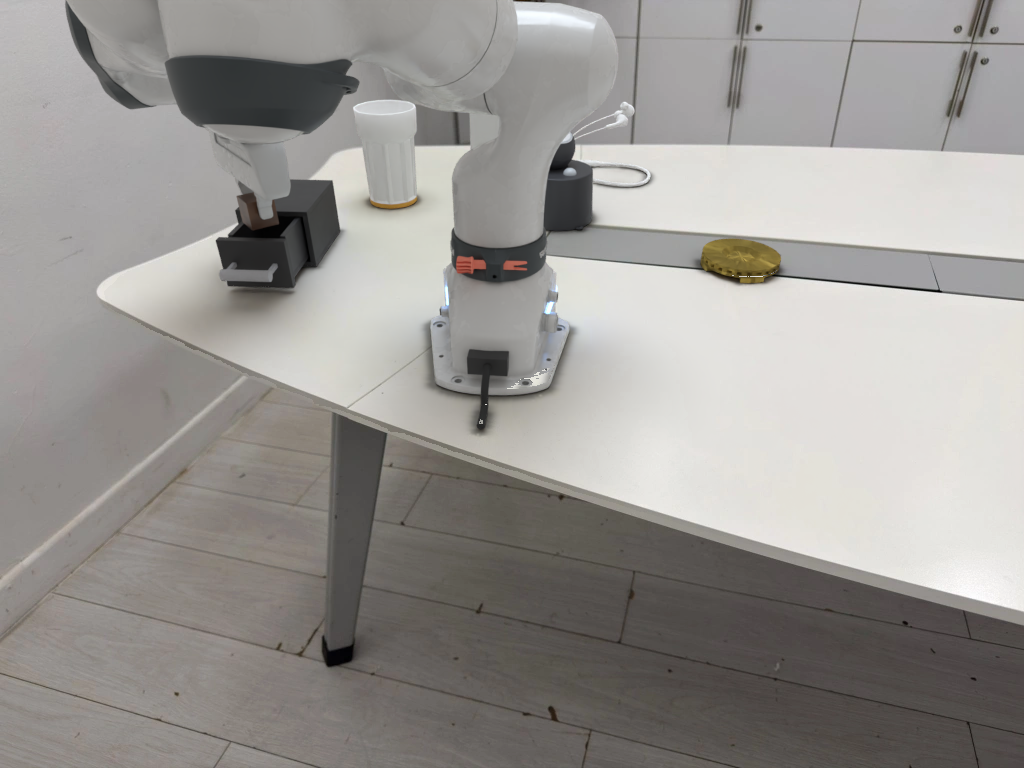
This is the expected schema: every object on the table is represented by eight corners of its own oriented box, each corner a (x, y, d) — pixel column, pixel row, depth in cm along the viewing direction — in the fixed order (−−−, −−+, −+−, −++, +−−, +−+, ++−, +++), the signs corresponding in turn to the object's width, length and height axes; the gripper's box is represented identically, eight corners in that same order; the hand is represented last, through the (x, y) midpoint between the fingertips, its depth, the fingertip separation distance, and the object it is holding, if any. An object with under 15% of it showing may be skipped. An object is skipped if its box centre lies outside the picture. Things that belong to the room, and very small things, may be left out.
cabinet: (316, 266, 107) (306, 211, 102) (248, 265, 107) (234, 210, 102) (340, 231, 119) (332, 180, 114) (278, 229, 119) (268, 178, 114)
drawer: (283, 302, 95) (273, 254, 91) (215, 300, 96) (202, 252, 92) (319, 250, 110) (312, 207, 106) (260, 248, 110) (250, 205, 106)
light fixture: (554, 144, 107) (506, 124, 117) (551, 238, 117) (506, 212, 126) (618, 132, 113) (567, 114, 123) (610, 222, 123) (563, 199, 132)
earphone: (560, 143, 150) (626, 92, 140) (602, 203, 155) (670, 158, 145) (544, 161, 139) (615, 107, 130) (591, 225, 144) (663, 177, 134)
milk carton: (491, 174, 144) (490, 79, 133) (518, 180, 141) (519, 83, 130) (471, 183, 140) (468, 85, 129) (498, 190, 136) (497, 90, 125)
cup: (358, 194, 134) (346, 102, 124) (413, 187, 137) (406, 97, 127) (372, 214, 125) (360, 117, 115) (430, 206, 129) (423, 110, 119)
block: (279, 224, 98) (273, 197, 96) (252, 230, 96) (246, 203, 94) (268, 216, 101) (263, 190, 99) (242, 222, 99) (236, 195, 97)
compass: (756, 290, 101) (759, 277, 100) (686, 266, 107) (688, 254, 106) (790, 265, 108) (793, 252, 107) (722, 244, 115) (725, 232, 113)
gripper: (188, 101, 95) (213, 196, 103) (240, 132, 82) (264, 239, 90) (233, 95, 98) (254, 188, 106) (289, 124, 85) (308, 228, 93)
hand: (259, 212), depth 98 cm, fingers closed on block, 4 cm apart
